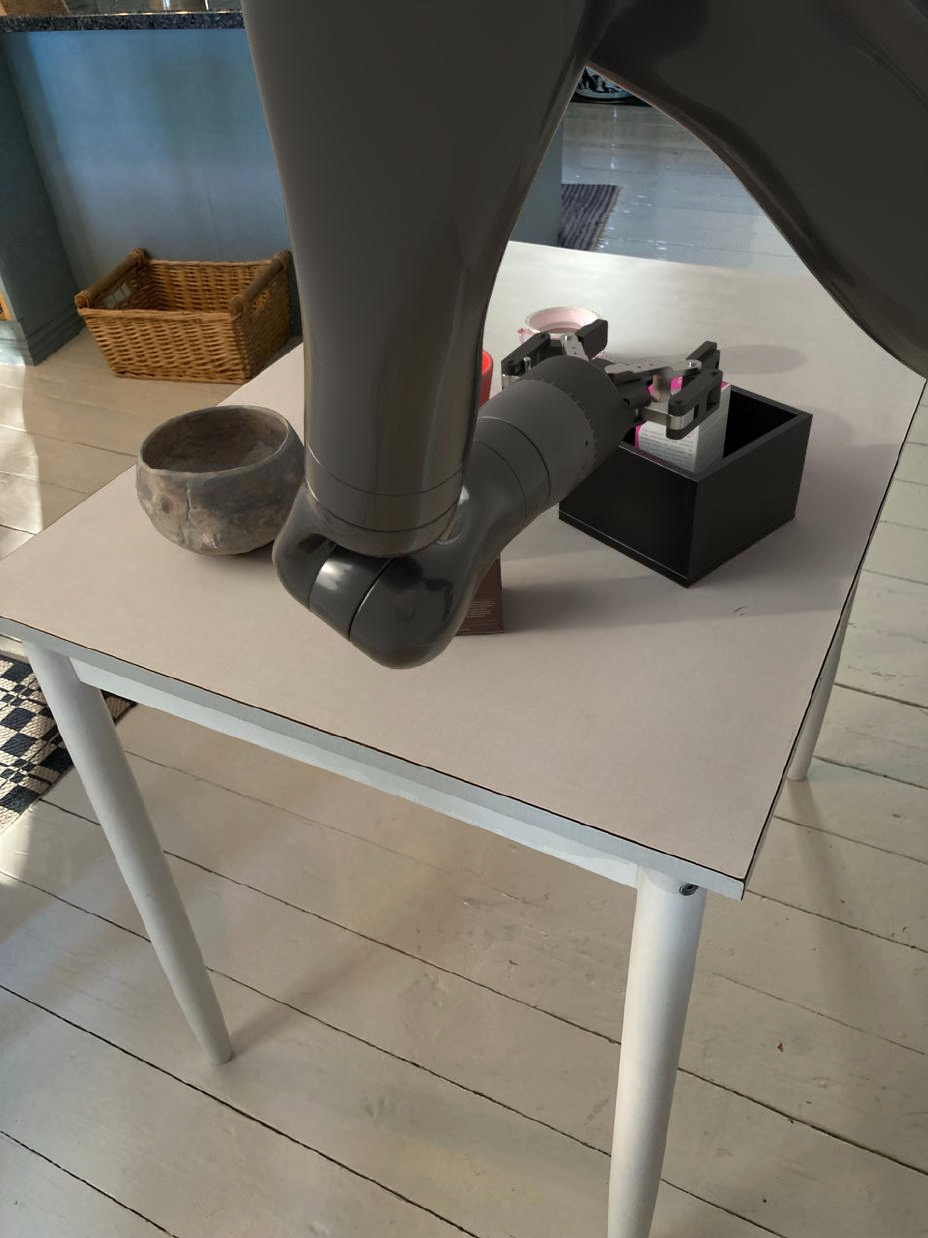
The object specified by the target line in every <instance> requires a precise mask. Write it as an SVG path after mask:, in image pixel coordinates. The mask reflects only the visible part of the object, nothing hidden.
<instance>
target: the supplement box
mask: <svg viewBox="0 0 928 1238" xmlns="http://www.w3.org/2000/svg"><path fill="white" fill-rule="evenodd" d="M681 383H682V376H681V377H676V378H674V379H673V380H672V382H671V390H673V389H678V388H681ZM728 383H729V382H726V383H723V382H722V388H721V397H720V405H719V408H718V409H717V410H716V411H715V412H714V413H712V414H711V415H710V416H709V417H708V418H707V419H705V420H704V421H703V422H702V423H701V424H700V425H698V426H697V427H696V428H695V429H694V430H693V431H691V432H690V433H689V434H688V435H687V436H685V437H684V438H683V439H681V440H670V439H668V438H667V437H666V426H664V425H660V424H657V423H653V422H650V421H647V422H646V423H645V424H643V425H641V426H637V427H636V439H635V447H637V448H639V449H641V450H644V451H646V452H648V453H650V454H653V455H655V456H657V457H659V458H661V459H664V460H666V461H668V462H670V463H672V464H675V465H677V466H679V467H681V468H684V469H686V470H688V471H690V472H692V473H695V474H698V473H699V472H701V471H703V470H704V469H706V468H708V467H710V466H711V465H713V464H715V463H717V462H718V461H720V460H722V458H723V450H724V441H725V433H726V424H727V416H728V407H729V398H730V390H731V383H729V384H728ZM652 387H653V384H652V385H651V386H649V387H648V388H649V391H650V393H651V396H652Z"/></svg>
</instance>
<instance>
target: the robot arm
mask: <svg viewBox="0 0 928 1238" xmlns="http://www.w3.org/2000/svg"><path fill="white" fill-rule="evenodd" d="M239 4H240V9H241V15H242V20H243V25H244V31H245V36H246V40H247V45H248V50H249V55H250V58H251V59H250V60H251V64H252V65H251V66H252V69H253V73H254V78H255V83H256V87H257V92H258V97H259V101H260V104H261V109H262V113H263V117H264V121H265V126H266V131H267V134H268V138H269V144H270V147H271V151H272V155H273V160H274V165H275V168H276V173H277V177H278V178H277V179H278V182H279V187H280V191H281V197H282V202H283V208H284V214H285V220H286V226H287V231H288V232H287V233H288V237H289V238H288V239H289V244H290V250H291V255H292V261H293V266H294V267H293V268H294V274H295V279H296V285H297V292H298V299H299V300H298V301H299V308H300V317H301V332H302V345H303V347H302V348H303V349H302V350H303V351H302V352H303V446H304V475H303V478H302V481H301V484H300V486H299V489H298V491H297V494H296V497H295V499H294V501H293V504H292V506H291V509H290V511H289V513H288V515H287V517H286V519H285V520H284V522H283V524H282V526H281V528H280V530H279V532H278V534H277V536H276V538H275V539H274V540H273V541H274V542H273V544H272V549H271V560H272V561H271V562H272V565H273V568H274V572H275V574H276V577H277V578H278V581H279V582H280V583H281V586H282V587H283V588H284V589H285V591H286V592H287V594H288V595H290V596H291V597H292V598H293V599H294V601H296V602H297V603H298V604H299V605H301V606H302V607H304V608H305V609H306V610H307V611H308V612H310V613H312V614H313V615H314V616H315V617H317V618H318V619H320V620H321V621H322V622H323V623H324V624H326V625H327V626H328V627H330V628H331V629H332V630H333V631H334V632H336V633H337V634H339V636H341V637H342V638H343V639H344V640H346V641H347V642H348V643H350V644H352V645H353V647H355V648H356V649H357V650H359V651H360V652H361V653H362V654H363V655H365V656H366V657H368V658H369V659H370V660H372V661H373V662H374V663H377V664H378V665H379V666H382V667H384V668H387V669H390V670H399V671H400V670H401V671H402V670H410V669H415V668H417V667H421V666H423V665H426V664H427V663H431V662H432V661H433V660H434V659H436V658H437V657H438V656H440V655H442V653H443V652H444V651H445V650H446V649H447V648H448V647H449V645H450V644H451V643H452V642H453V640H454V639H455V637H456V635H457V634H456V633H457V631H458V630H459V628H460V626H461V624H462V623H463V621H464V618H465V616H466V614H467V612H468V610H469V608H470V606H471V603H472V601H473V599H474V597H475V595H476V593H477V590H478V588H479V586H480V584H481V582H482V580H483V578H484V577H485V575H486V573H487V572H488V570H489V569H490V567H491V565H492V564H493V562H494V561H495V560H496V558H497V557H498V556H499V554H500V555H501V553H502V552H503V551H504V550H505V549H506V547H507V546H508V545H509V544H510V543H511V542H512V541H513V540H514V539H516V537H517V536H519V534H521V533H522V532H523V531H524V530H525V529H526V528H527V527H529V526H530V524H532V523H533V522H534V521H535V520H536V519H537V518H538V517H540V516H541V515H542V514H543V513H545V512H547V511H548V510H551V509H552V508H554V507H555V506H556V505H559V502H560V501H561V500H563V499H564V498H565V497H566V496H567V495H568V494H569V493H570V492H572V491H573V490H574V489H575V488H576V487H577V486H578V485H579V484H580V483H581V482H582V481H583V480H584V479H586V478H587V477H588V476H589V475H590V474H591V473H592V472H593V471H594V470H595V469H596V468H597V467H599V466H600V465H601V464H602V463H603V462H604V461H605V460H606V459H607V458H608V457H609V456H610V455H612V454H613V453H614V451H615V450H616V449H617V448H618V446H619V445H620V443H621V442H622V440H623V438H624V437H625V435H626V433H627V432H628V431H629V430H630V429H632V428H634V427H637V426H641V425H643V424H645V423H646V422H647V421H650V422H653V423H657V424H660V425H664V426H666V437H667V438H668V439H670V440H681V439H683V438H684V437H685V436H687V435H688V434H689V433H690V432H691V431H693V430H694V429H695V428H696V427H697V426H698V425H700V424H701V423H702V422H703V421H704V420H705V419H707V418H708V417H709V416H710V415H711V414H712V413H714V412H715V411H716V410H717V409H718V408H719V405H720V397H721V388H722V381H723V379H724V371H723V370H721V369H720V360H721V349H718V343H717V342H716V341H711V340H705V341H703V343H701V344H700V345H699V347H697V348H696V349H695V350H694V351H692V352H691V354H689V355H688V356H687V357H686V358H685V359H684V360H681V361H675V362H671V363H667V362H666V361H664V360H663V359H662V358H656V359H652V360H647V361H642V362H637V363H632V364H628V363H623V362H614V361H613V362H611V361H608V360H606V359H601V358H597V357H596V358H595V359H592V358H594V357H595V356H596V355H598V354H599V353H602V352H603V351H604V350H606V348H607V346H608V343H609V341H608V339H609V321H608V320H606V319H603V320H602V319H596V320H595V321H594V322H592V323H591V324H588V325H585V326H583V327H582V328H581V329H579V330H578V331H576V332H575V333H574V334H563V335H561V336H560V340H556V339H550V334H549V333H546V332H539V333H536V334H534V335H533V336H532V335H531V336H530V337H529V338H528V339H526V340H524V343H523V344H522V345H521V344H520V345H519V346H518V347H517V348H515V349H514V350H513V351H511V352H510V353H509V354H508V355H507V356H505V357H504V358H503V359H502V360H500V382H501V390H500V391H499V392H498V393H496V394H495V395H494V396H492V397H490V398H489V400H488V401H487V402H486V403H484V404H483V405H482V406H481V407H480V408H479V404H480V396H481V385H482V362H483V350H484V337H485V328H486V321H487V317H488V311H489V307H490V303H491V299H492V296H493V293H494V292H493V291H494V288H495V284H496V281H497V277H498V274H499V271H500V268H501V266H502V263H503V259H504V256H505V253H506V250H507V248H508V244H509V242H510V239H511V237H512V235H513V231H514V229H515V227H516V225H517V222H518V220H519V217H520V215H521V212H522V210H523V207H524V205H525V203H526V200H527V198H528V195H529V194H530V192H531V189H532V187H533V184H534V183H535V180H536V178H537V176H538V174H539V171H540V168H541V167H542V165H543V162H544V160H545V157H546V155H547V153H548V151H549V148H550V147H551V144H552V142H553V140H554V137H555V136H556V132H557V131H558V129H559V127H560V124H561V122H562V120H563V118H564V116H565V113H566V111H567V109H568V106H569V104H570V102H571V100H572V97H573V95H574V94H575V91H576V89H577V87H578V85H579V82H580V80H581V78H582V76H583V74H584V71H585V70H586V69H588V70H590V71H591V72H593V73H594V74H596V75H598V76H600V77H602V78H603V79H605V80H607V81H609V82H610V83H612V84H614V85H616V86H617V87H619V88H621V89H623V90H624V91H626V92H628V93H629V94H631V95H633V96H635V97H636V98H638V99H640V100H641V101H643V102H644V103H646V104H648V105H650V106H651V107H653V108H654V109H656V110H657V111H658V112H659V113H662V114H663V115H664V116H666V117H667V118H669V119H670V120H671V121H673V122H674V123H676V124H677V125H679V126H680V128H683V129H684V131H686V132H687V133H688V134H689V135H691V136H692V137H693V138H695V140H697V141H698V142H699V143H701V145H703V146H704V147H705V148H706V149H707V151H709V152H710V153H711V154H712V156H714V157H715V158H716V160H718V162H719V163H720V164H721V165H723V166H724V167H725V168H726V169H727V170H728V172H729V173H730V174H731V176H732V177H733V178H734V180H736V182H737V183H738V184H739V185H740V187H742V188H743V190H744V191H745V193H747V194H748V196H749V197H750V198H751V199H752V201H754V203H755V204H756V205H757V206H758V208H759V209H760V211H761V212H762V213H763V214H764V216H766V218H767V219H768V220H769V222H770V223H771V224H772V225H773V227H774V228H775V229H776V231H777V232H778V233H779V234H780V235H781V236H782V238H783V239H784V241H786V243H787V244H788V245H789V247H790V248H791V249H792V250H793V252H794V253H795V254H796V256H797V257H798V258H799V260H800V261H801V262H802V264H803V265H804V266H805V267H806V268H807V269H808V271H809V272H810V274H811V275H812V276H813V277H814V278H815V280H816V281H817V282H818V283H819V284H820V286H821V287H822V288H823V289H824V291H826V293H827V294H828V295H829V297H831V299H832V300H833V301H834V302H835V303H836V304H837V306H838V307H839V308H840V309H841V310H842V311H843V312H844V314H845V315H846V316H848V318H849V319H850V320H851V321H852V322H853V323H854V324H855V325H856V326H857V327H858V328H859V329H860V330H861V331H862V332H863V333H865V334H866V335H867V337H869V338H870V339H871V340H872V341H873V343H875V344H876V345H878V346H879V347H880V348H881V349H883V350H884V351H885V352H886V353H888V354H889V355H890V356H892V357H893V358H894V359H895V360H897V361H898V362H899V363H901V364H902V365H903V366H905V367H906V368H907V369H909V370H911V371H912V372H913V373H915V374H917V375H918V376H920V377H922V378H923V379H925V380H927V381H928V0H239ZM650 376H653V387H652V396H651V393H650V391H649V388H648V386H647V383H646V380H645V378H646V377H650ZM681 376H682V383H681V388H678V389H673V390H671V382H672V380H673V379H674V378H676V377H681Z"/></svg>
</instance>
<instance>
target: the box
mask: <svg viewBox="0 0 928 1238" xmlns="http://www.w3.org/2000/svg"><path fill="white" fill-rule="evenodd" d="M503 601H504V600H503V582H502V563H501V553H500V554H499V556H498V557H497V558H496V560H495V561H494V562H493V564H492V565H491V567H490V569H489V570H488V572H487V573H486V575H485V577H484V578H483V580H482V582H481V584H480V586H479V588H478V590H477V593H476V595H475V597H474V599H473V601H472V603H471V606H470V608H469V610H468V612H467V614H466V616H465V618H464V621H463V623H462V624H461V626H460V628H459V630H458V631H457V633H456V635H468V634H495V633H502V632H503V631H504V602H503Z"/></svg>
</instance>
